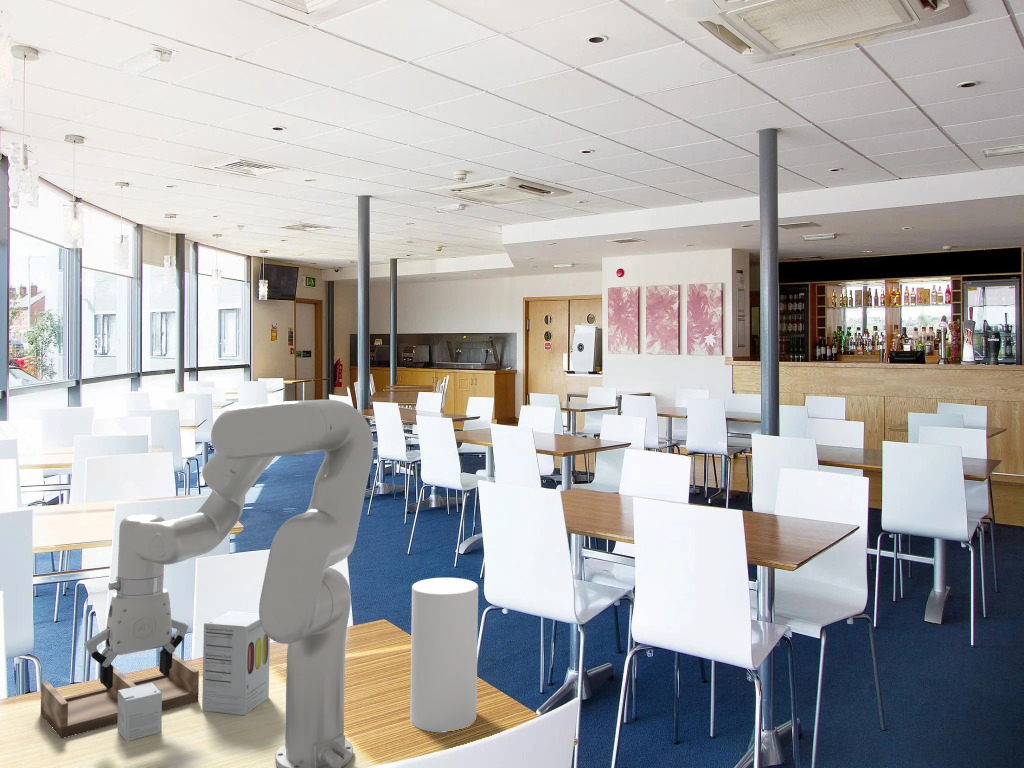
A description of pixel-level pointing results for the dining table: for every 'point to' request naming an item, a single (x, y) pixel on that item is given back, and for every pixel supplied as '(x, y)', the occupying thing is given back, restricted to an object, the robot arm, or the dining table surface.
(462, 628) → the cylinder
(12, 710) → the dining table surface
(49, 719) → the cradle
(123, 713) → the skincare box
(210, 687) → the supplement box
